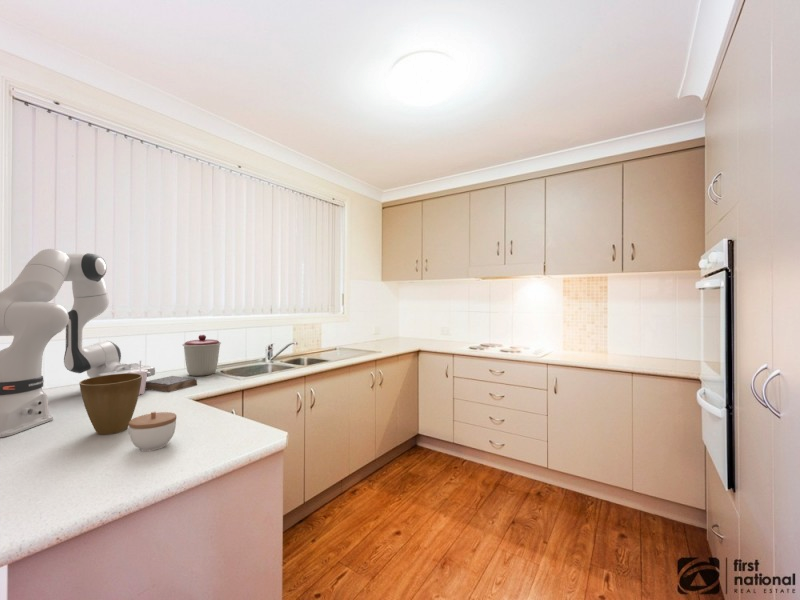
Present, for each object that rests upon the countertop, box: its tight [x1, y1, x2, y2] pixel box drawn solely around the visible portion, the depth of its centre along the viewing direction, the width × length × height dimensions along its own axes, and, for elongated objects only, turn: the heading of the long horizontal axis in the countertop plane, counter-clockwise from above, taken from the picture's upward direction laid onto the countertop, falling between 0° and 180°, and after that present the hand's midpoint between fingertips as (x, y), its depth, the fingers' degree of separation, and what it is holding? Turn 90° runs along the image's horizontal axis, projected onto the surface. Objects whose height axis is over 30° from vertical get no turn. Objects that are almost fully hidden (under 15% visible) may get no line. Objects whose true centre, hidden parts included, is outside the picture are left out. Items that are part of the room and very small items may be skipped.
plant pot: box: [78, 373, 142, 436], centre depth 110 cm, size 15×15×16 cm
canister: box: [182, 334, 222, 377], centre depth 192 cm, size 18×18×21 cm
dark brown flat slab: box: [145, 375, 198, 393], centre depth 165 cm, size 14×16×3 cm
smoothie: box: [130, 360, 148, 396], centre depth 152 cm, size 6×6×14 cm
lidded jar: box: [128, 411, 177, 452], centre depth 98 cm, size 11×11×9 cm
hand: (140, 376), depth 151 cm, fingers closed on smoothie, 6 cm apart
